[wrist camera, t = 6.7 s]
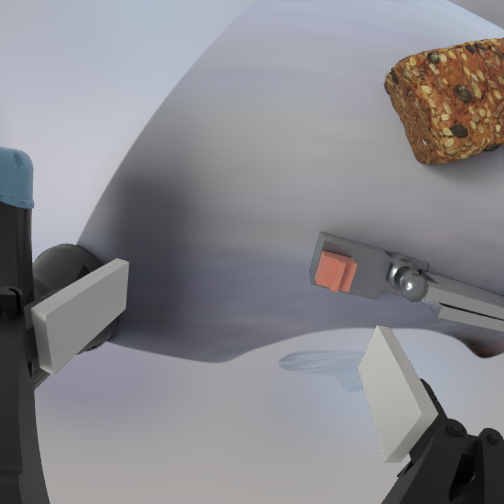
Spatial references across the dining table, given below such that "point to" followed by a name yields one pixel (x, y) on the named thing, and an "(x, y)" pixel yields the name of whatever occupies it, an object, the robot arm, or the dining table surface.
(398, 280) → the jaw
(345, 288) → the tab
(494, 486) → the robot arm
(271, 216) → the dining table surface
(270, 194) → the dining table surface
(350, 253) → the base
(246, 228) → the dining table surface
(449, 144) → the bread
